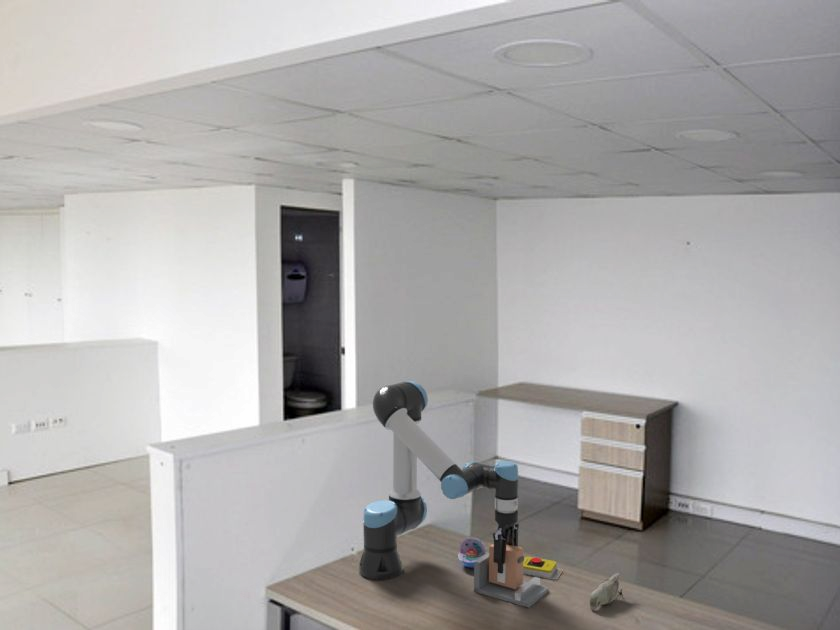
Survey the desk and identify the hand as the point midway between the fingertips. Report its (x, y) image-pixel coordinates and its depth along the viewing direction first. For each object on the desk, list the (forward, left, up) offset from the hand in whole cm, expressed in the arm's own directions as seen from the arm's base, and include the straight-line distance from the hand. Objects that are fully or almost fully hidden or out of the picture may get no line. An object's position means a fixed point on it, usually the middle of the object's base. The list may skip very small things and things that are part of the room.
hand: (505, 578), depth 240 cm
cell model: (-19, +10, -4) cm, 22 cm away
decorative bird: (+30, +10, -4) cm, 32 cm away
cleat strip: (+8, 0, -3) cm, 8 cm away
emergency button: (+3, +20, -4) cm, 20 cm away
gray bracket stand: (+2, 0, -4) cm, 4 cm away
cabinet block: (0, 0, -1) cm, 1 cm away
